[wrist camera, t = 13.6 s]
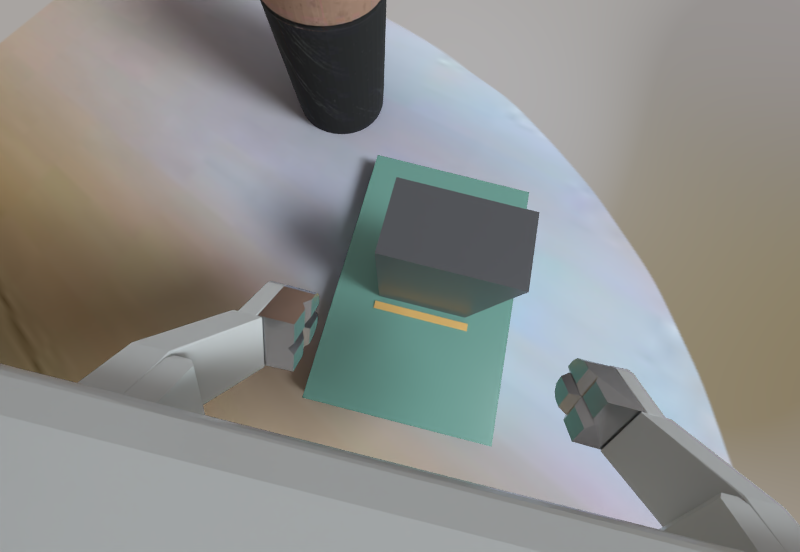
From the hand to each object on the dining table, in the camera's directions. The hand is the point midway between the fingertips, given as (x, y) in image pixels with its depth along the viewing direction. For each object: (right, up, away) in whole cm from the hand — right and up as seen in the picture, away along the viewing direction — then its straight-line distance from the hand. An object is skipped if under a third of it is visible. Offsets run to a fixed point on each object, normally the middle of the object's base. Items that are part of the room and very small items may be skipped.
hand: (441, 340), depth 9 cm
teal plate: (+1, +1, +12) cm, 12 cm away
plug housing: (+1, +2, +11) cm, 11 cm away
